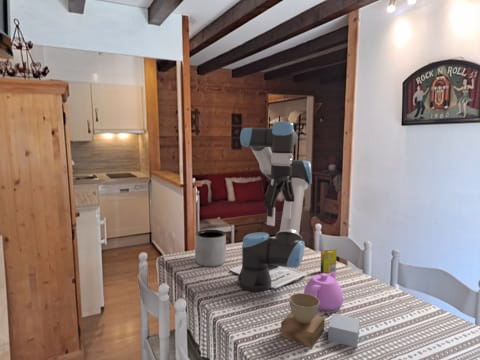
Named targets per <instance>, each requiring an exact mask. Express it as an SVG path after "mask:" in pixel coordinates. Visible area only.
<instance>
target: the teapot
mask: <svg viewBox="0 0 480 360" xmlns="http://www.w3.org/2000/svg"><path fill="white" fill-rule="evenodd" d="M336 275H337V271H336V272H335V271H334V272H330V275H329V274H328V273H323V272H321V273H320V274H316V275H313V276H312V277H311V278H310V280H309V281H308V282H307V284H306V285H305V287H304V290H303V293H305V294H310V295H313V296H315V297H316V298H318V300H319V301H320V303H319V307H318V310H319V311H326V312H329V311H335V310H337V309H338V308H340V306H342V304H343V302H344V295H343V294H344V293H343V291H342V288H341V286H340V284H339V283H338V281H337V279H336V277H337V276H336Z"/></svg>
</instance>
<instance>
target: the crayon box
mask: <svg viewBox="0 0 480 360" xmlns="http://www.w3.org/2000/svg"><path fill="white" fill-rule="evenodd" d="M336 270H337V248H334V249H325V250H323V251H322V252H320V272H321V273H326V274H328V273H332V272H336V273H337V271H336Z"/></svg>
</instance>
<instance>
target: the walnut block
mask: <svg viewBox="0 0 480 360" xmlns="http://www.w3.org/2000/svg"><path fill="white" fill-rule="evenodd" d="M325 320H326V317H324V316H321V315H317V314H316V315H315V316H314V318H313V319H312V321H311V322H310V323H307V324H302V323H299V322H297V321H296V319H295V318H294V316H293V314H292V311H291V312H290V313H289V314H288V315H287V316H285V318H284V319H283V320H282V321H281V322H280V323H281V324H280V337H283V338H285V339H288V340H291V341H293V342H295V343H297V344H300V345H303V346H306V347H309V348H311V349H312V348H314V346H315V345H316V344H317V342H318V341H319V340H320V338H321V336H322V335H323V334H324V332H325Z"/></svg>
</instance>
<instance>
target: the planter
mask: <svg viewBox="0 0 480 360" xmlns="http://www.w3.org/2000/svg"><path fill="white" fill-rule="evenodd" d="M226 246H227V233H226V232H225V231H223V230H219V229H201V230H199V231H196V232H195V248H194V249H195V253H194V254H195V256H194V261H195V263H196V264H198V265H199V266H201V267H202V266H203V267H206V268H207V267H208V268H209V267H210V268H213V267H219V266H221V265H223V264H225V263H226V260H227V256H226V254H227V253H226V252H227V248H226Z"/></svg>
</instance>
